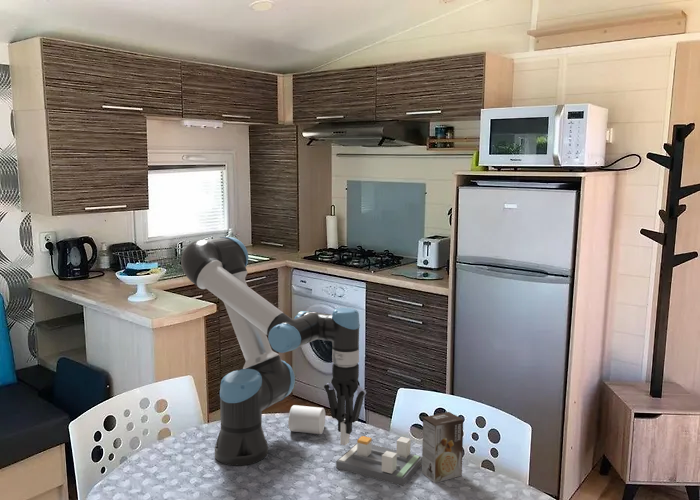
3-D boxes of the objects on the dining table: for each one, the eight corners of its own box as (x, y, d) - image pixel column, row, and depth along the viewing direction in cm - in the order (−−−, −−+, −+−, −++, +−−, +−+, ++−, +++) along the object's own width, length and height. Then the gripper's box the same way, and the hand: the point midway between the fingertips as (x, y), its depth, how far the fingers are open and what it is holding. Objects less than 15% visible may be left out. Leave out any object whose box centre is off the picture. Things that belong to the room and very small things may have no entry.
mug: (319, 438, 180) (319, 413, 179) (288, 435, 182) (288, 410, 181) (328, 422, 191) (328, 399, 190) (299, 419, 193) (299, 396, 192)
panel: (336, 467, 162) (336, 458, 161) (359, 447, 174) (359, 438, 174) (403, 486, 152) (403, 476, 152) (422, 463, 165) (422, 454, 164)
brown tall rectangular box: (448, 465, 164) (450, 410, 162) (462, 476, 158) (464, 419, 156) (420, 473, 159) (422, 416, 157) (434, 483, 154) (436, 425, 152)
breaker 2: (396, 455, 164) (396, 440, 164) (400, 451, 167) (400, 436, 166) (406, 458, 163) (406, 443, 162) (410, 453, 166) (410, 438, 165)
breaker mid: (357, 454, 164) (357, 439, 164) (361, 450, 167) (362, 435, 167) (366, 457, 163) (367, 442, 162) (371, 452, 166) (371, 438, 165)
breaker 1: (381, 470, 155) (381, 455, 155) (386, 466, 158) (386, 450, 158) (391, 473, 154) (392, 457, 154) (396, 468, 157) (396, 453, 156)
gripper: (318, 363, 165) (318, 443, 167) (360, 370, 159) (359, 453, 161) (332, 356, 171) (331, 433, 174) (372, 363, 165) (371, 442, 168)
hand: (344, 443), depth 168 cm, fingers closed
